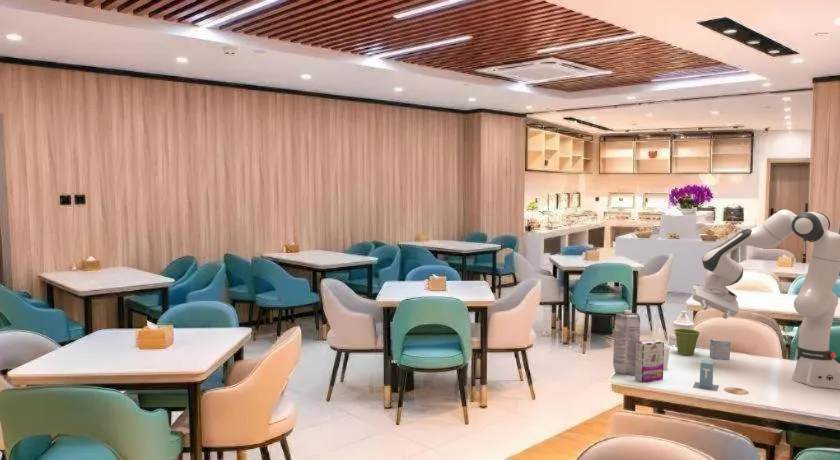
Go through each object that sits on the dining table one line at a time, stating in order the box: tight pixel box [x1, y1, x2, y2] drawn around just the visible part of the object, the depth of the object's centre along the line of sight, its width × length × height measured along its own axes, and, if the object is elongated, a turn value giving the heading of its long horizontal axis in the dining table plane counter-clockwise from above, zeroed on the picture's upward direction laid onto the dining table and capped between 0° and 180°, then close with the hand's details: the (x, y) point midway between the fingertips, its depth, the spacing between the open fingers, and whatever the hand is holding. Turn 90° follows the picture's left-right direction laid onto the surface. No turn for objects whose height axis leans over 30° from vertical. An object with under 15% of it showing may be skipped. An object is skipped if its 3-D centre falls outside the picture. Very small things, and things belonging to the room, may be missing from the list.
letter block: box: [699, 360, 715, 389], centre depth 264 cm, size 4×5×10 cm
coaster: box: [723, 386, 750, 396], centre depth 259 cm, size 9×9×1 cm
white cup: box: [663, 344, 670, 371], centre depth 291 cm, size 8×8×10 cm
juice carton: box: [612, 309, 641, 376], centre depth 283 cm, size 9×10×27 cm
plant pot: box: [674, 329, 701, 356], centre depth 318 cm, size 12×12×11 cm
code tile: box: [692, 381, 720, 392], centre depth 264 cm, size 9×9×1 cm
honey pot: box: [668, 310, 697, 348], centre depth 335 cm, size 13×13×18 cm
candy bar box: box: [634, 339, 665, 383], centre depth 273 cm, size 11×5×16 cm, turn 112°
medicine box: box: [709, 338, 732, 360], centre depth 311 cm, size 8×4×9 cm, turn 84°
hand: (715, 313), depth 288 cm, fingers open, 8 cm apart
